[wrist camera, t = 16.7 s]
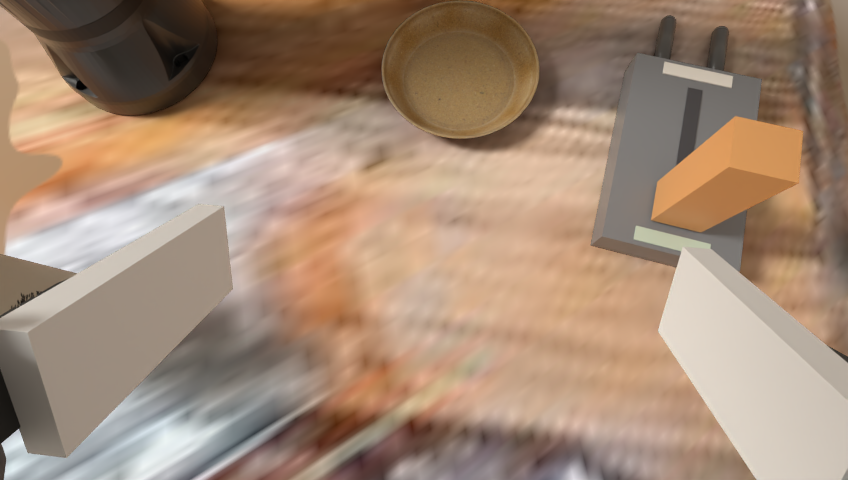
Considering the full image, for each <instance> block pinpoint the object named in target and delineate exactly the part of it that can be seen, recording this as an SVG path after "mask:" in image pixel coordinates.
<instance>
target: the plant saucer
mask: <svg viewBox="0 0 848 480" xmlns="http://www.w3.org/2000/svg"><path fill="white" fill-rule="evenodd" d="M382 81H383V85H384V88H385V91H386V94H387V96H388V98H389V100H390V102H391V103H392V105H393V106H394V107H395V109H396V110H397V111H398V112H399V113H400V114H401V115H402V116H403V117H404V118H405V119H406V120H407V121H409V122H410V123H411V124H413V125H414V126H416V127H417V128H419V129H421V130H424V131H426V132H428V133H431V134H434V135H437V136H441V137H446V138H457V139H466V138H476V137H481V136H485V135H488V134H491V133H493V132H496V131H498V130H500V129H502V128H504V127H506V126H507V125H509V124H510V123H512V122H513V121H514V120H515V119H517V118H518V117H519V116H520V115H521V114H522V113H523V111H524V110H525V109H526V107H527V106H528V105H529V103H530V102H531V100H532V98H533V96H534V94H535V91H536V88H537V86H538V81H539V60H538V55H537V52H536V48H535V46H534V44H533V42H532V40H531V39H530V37H529V35H528V34H527V32H526V31H525V30H524V29H523V27H522V26H521V25H520V24H519V23H518V22H517V21H516V20H514V19H513V18H512V17H511V16H509V15H507V14H506V13H504V12H502V11H501V10H499V9H497V8H494V7H492V6H489V5H486V4H483V3H479V2H473V1H448V2H442V3H437V4H434V5H431V6H428V7H426V8H423V9H421V10H420V11H418V12H416V13H414V14H413V15H411V16H410V17H409V18H407V19H406V20H405V21H404V22H403V23H402V24H401V25H400V26H399V27H398V28H397V29H396V30H395V32H394V33H393V34H392V36H391V37H390V39H389V41H388V43H387V45H386V48H385V51H384V54H383V59H382Z"/></svg>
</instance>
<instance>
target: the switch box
mask: <svg viewBox="0 0 848 480" xmlns="http://www.w3.org/2000/svg"><path fill="white" fill-rule="evenodd" d="M675 27H676V19H675V17H674V16H671V15H668V16H666V17H664V18H663V19H662V20H661V23H660V28H659V34H658V39H657V45H656V50H655V56H650V55H646V54H641V53H637V54H636V55H635V57H634V59H633V60H632V62H631V63H630V65H629V66H628V68H627V70H626V71H625V73H624V78H623V83H622V89H621V94H620V99H619V104H618V109H617V114H616V119H615V124H614V129H613V134H612V139H611V144H610V149H609V154H608V159H607V164H606V170H605V175H604V180H603V185H602V190H601V195H600V200H599V205H598V210H597V215H596V220H595V225H594V230H593V235H592V240H591V246H595V247H599V248H603V249H607V250H611V251H615V252H619V253H623V254H626V255H630V256H634V257H638V258H642V259H646V260H650V261H654V262H658V263H662V264H666V265H670V266H673V267H677V265H678V261H679V258H680V255H681V251H682V248H683V247H693V248H704V249H712V250H713V251H714V252H715V253H717V254H718V255H719V256H720V257H721V258H723V259H724V260H725V261H726V262H727V263H729V264H730V265H731V266H732V267H733V268H735V269H736V270H737V271H738V272H739V271H740V266H741V257H742V248H743V240H744V231H745V222H746V213H747V209H746V210H744V211H742V212H740V213H738V214H737V215H735V216H733V217H731V218H729V219H727V220H725V221H723V222H721V223H719V224H717V225H715V226H713V227H711V228H709V229H707V230H705V231H703V232H701V233H700V232H696V231H692V230H688V229H684V228H680V227H676V226H672V225H668V224H664V223H660V222H656V221H652V220H651V217H652V211H653V205H654V199H655V193H656V187H657V182H658V181H659V180H660V179H661V178H662V177H663V176H665V175H666V174H667V173H668V172H669V171H671V170H672V169H673V168H674V167H675V166H677V165H678V164H679V163H680V162H681V161H683V160H684V159H685V158H686V157H687V156H688V155H690V154H691V153H692V152H693V151H694V150H696V149H697V148H698V147H699V146H700V145H702V144H703V143H704V142H705V141H706V140H708V139H709V138H710V137H711V136H712V135H714V134H715V133H716V132H717V131H718V130H719V129H721V128H722V127H723V126H724V125H725V124H727V123H728V122H729V121H730V120H731V119H733V118H734V117H735V116H738V117H742V118H747V119H751V120H756V121H757V117H758V108H759V100H760V91H761V82H762V79H759V78H754V77H749V76H745V75H740V74H735V73H730V72H726V71H724V64H725V57H726V50H727V42H728V35H729V30H728V28H727V27H725V26H719V27H717V28H716V29H715V30H714V31H713V33H712V37H711V44H710V51H709V58H708V64H707V67H702V66H697V65H693V64H688V63H683V62H679V61H674V60H670V56H671V50H672V44H673V39H674V33H675Z"/></svg>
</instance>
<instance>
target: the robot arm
mask: <svg viewBox="0 0 848 480" xmlns="http://www.w3.org/2000/svg"><path fill="white" fill-rule="evenodd" d="M0 6H1V7H2V8H4V9H5V10H6V11H7V12H8V13H10V14H11V15H12V16H13V17H15V18H16V19H17V20H19V21H20V22H21V23H22V24H23V25H25V26H26V27H27V28H28V29H29V30H31V31H32V32H33V33H34V34H35V35H36V37H37V39H38V40H39V42H40V43H41V45H42V46H43V48H44V49H45V51H46V53H47V54H48V56H49V57H50V59H51V60H52V62H53V63H54V65H55V67H56V68H57V70H58V71H59V73H60V74H61V76H62V78H63V79H64V80H65V81H66V83H67V84H68V85H69V86H70V87H71V88H72V89H73V90H74V91H76V92H77V93H78V94H80V95H81V96H82V97H84V98H85V99H86V100H87V101H89V102H90V103H92V104H93V105H95V106H96V107H98V108H100V109H102V110H105V111H107V112H111V113H115V114H121V115H141V114H147V113H152V112H156V111H159V110H162V109H164V108H167V107H169V106H171V105H173V104H175V103H177V102H178V101H180V100H181V99H183V98H184V97H186V96H187V95H188V94H189V93H191V92H192V91H193V90H194V89H195V88H196V87H197V86H198V85H199V84H200V83H201V81H202V80H203V79H204V77H205V76H206V75H207V73H208V71H209V70H210V68H211V66H212V63H213V61H214V58H215V54H216V50H217V30H216V26H215V23H214V20H213V18H212V16H211V14H210V13H209V11H208V10H207V8H206V7H205V5H204V4H203V2H202V1H201V0H0ZM232 289H233V285H232V276H231V267H230V258H229V248H228V239H227V230H226V221H225V212H224V206H215V205H204V204H198V205H196V206H194V207H193V208H191V209H189V210H188V211H186V212H184V213H182V214H181V215H179V216H177V217H175V218H174V219H172V220H170V221H168V222H167V223H165V224H163V225H161V226H160V227H158V228H156V229H154V230H153V231H151V232H149V233H147V234H146V235H144V236H142V237H141V238H139V239H137V240H135V241H134V242H132V243H130V244H128V245H127V246H125V247H123V248H121V249H120V250H118V251H116V252H114V253H113V254H111V255H109V256H107V257H106V258H104V259H102V260H100V261H99V262H97V263H95V264H94V265H92V266H90V267H88V268H87V269H85V270H83V271H81V272H80V273H78V274H76V275H74V276H73V277H71V278H69V279H66V280H64V281H61V282H58V283H56V284H54V285H53V286H51V287H49V288H47V289H46V290H44V291H42V292H40V293H39V294H37V297H32V298H30V299H28V300H26V301H24V302H23V303H21V304H20V306H19V307H14V308H12V309H10V310H9V311H7V312H5V313H3V314H2V315H0V480H4V473H5V465H6V457H5V453H4V450H3V447H2V445H1V443H2V442H3V441H4V440H6V439H7V438H8V437H9V436H10V435H12V434H13V433H14V432H15V431H16V430H18V429H19V430H20V432H21V435H22V438H23V441H24V444H25V447H26V449H27V452H28V453H32V454H40V455H48V456H56V457H64V458H67V457H68V456H69V455H70V454H71V453H72V452H73V451H74V450H75V449H76V448H77V447H78V446H79V445H80V444H81V443H82V442H83V441H84V440H85V439H86V438H87V437H88V436H89V435H90V434H91V432H92V431H93V430H94V429H95V428H96V427H97V426H98V425H99V424H100V423H101V422H102V421H103V420H104V419H105V418H106V417H107V416H108V415H109V414H110V413H111V412H112V411H113V410H114V409H115V408H116V407H117V406H118V405H119V404H120V403H121V402H122V401H123V400H124V399H125V398H126V397H127V396H128V395H129V394H130V393H131V392H132V391H133V390H134V389H135V388H136V387H137V386H138V385H139V384H140V383H141V382H142V381H143V380H144V379H145V378H146V377H147V376H148V375H149V374H150V373H151V372H152V371H153V370H154V369H155V368H156V367H157V366H158V365H159V363H160V362H161V361H162V360H163V359H164V358H165V357H166V356H167V355H168V354H169V353H170V352H171V351H172V350H173V349H174V348H175V347H176V346H177V345H178V344H179V343H180V342H181V341H182V340H183V339H184V338H185V337H186V336H187V335H188V334H189V333H190V332H191V331H192V330H193V329H194V328H195V327H196V326H197V325H198V324H199V323H200V322H201V321H202V320H203V319H204V318H205V317H206V316H207V315H208V314H209V313H210V312H211V311H212V310H213V309H214V308H215V307H216V306H217V305H218V304H219V303H220V302H221V301H222V300H223V299H224V298H225V297H226V296H227V294H228V293H229V292H230V291H231V290H232ZM658 332H659V333H660V335H661V336H662V338H663V339H664V341H665V343H666V344H667V346H668V347H669V349H670V350H671V352H672V353H673V355H674V356H675V358H676V359H677V361H678V362H679V364H680V365H681V367H682V368H683V370H684V371H685V373H686V374H687V376H688V377H689V379H690V380H691V382H692V383H693V385H694V386H695V388H696V389H697V391H698V392H699V394H700V395H701V397H702V398H703V400H704V401H705V403H706V404H707V406H708V407H709V409H710V410H711V412H712V413H713V415H714V416H715V418H716V419H717V421H718V422H719V424H720V426H721V427H722V429H723V430H724V432H725V433H726V435H727V436H728V438H729V439H730V441H731V442H732V444H733V445H734V447H735V448H736V450H737V451H738V453H739V454H740V456H741V457H742V459H743V460H744V462H745V463H746V465H747V466H748V468H749V469H750V471H751V472H752V474H753V475H754V477H755V478H756V480H848V357H847V356H845V355H843V354H842V353H840V352H838V351H836V350H835V349H833V348H831V347H829V346H827V345H826V344H824V343H823V342H822V341H821V340H820V339H818V338H817V337H816V336H815V335H814V334H813V333H811V332H810V331H809V330H808V329H807V328H805V327H804V326H803V325H802V324H801V323H799V322H798V321H797V320H796V319H795V318H793V317H792V316H791V315H790V314H789V313H787V312H786V311H785V310H784V309H783V308H781V307H780V306H779V305H778V304H777V303H775V302H774V301H773V300H772V299H771V298H769V297H768V296H767V295H766V294H765V293H763V292H762V291H761V290H760V289H759V288H757V287H756V286H755V285H754V284H753V283H751V282H750V281H749V280H748V279H747V278H745V277H744V276H743V275H742V274H741V273H739V272H738V271H737V270H736V269H735V268H733V267H732V266H731V265H730V264H729V263H727V262H726V261H725V260H724V259H723V258H721V257H720V256H719V255H718V254H717V253H715V252H714V251H713V250H712V249H704V248H693V247H683V248H682V251H681V255H680V258H679V261H678V265H677V268H676V271H675V275H674V278H673V282H672V285H671V288H670V292H669V295H668V299H667V302H666V305H665V309H664V312H663V315H662V319H661V322H660V326H659V329H658Z"/></svg>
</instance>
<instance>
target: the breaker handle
mask: <svg viewBox="0 0 848 480" xmlns="http://www.w3.org/2000/svg"><path fill="white" fill-rule="evenodd" d="M802 139H803V131H801V130H796V129H792V128H787V127H783V126H778V125H774V124H769V123H765V122H760V121H756V120H751V119H747V118H742V117H738V116H735V117H734V118H733V119H731V120H730V121H729V122H728V123H727V124H725V125H724V126H723V127H722V128H721V129H719V130H718V131H717V132H716V133H715V134H714V135H712V136H711V137H710V138H709V139H708V140H706V141H705V142H704V143H703V144H702V145H700V146H699V147H698V148H697V149H696V150H694V151H693V152H692V153H691V154H690V155H688V156H687V157H686V158H685V159H684V160H683V161H681V162H680V163H679V164H678V165H677V166H675V167H674V168H673V169H672V170H671V171H669V172H668V173H667V174H666V175H665V176H663V177H662V178H661V179H660V180H659V181H658V182H657V187H656V193H655V199H654V205H653V211H652V217H651V220H652V221H656V222H660V223H664V224H668V225H672V226H676V227H680V228H684V229H688V230H692V231H696V232H700V233H701V232H703V231H705V230H707V229H709V228H711V227H713V226H715V225H717V224H719V223H721V222H723V221H725V220H727V219H729V218H731V217H733V216H735V215H737V214H738V213H740V212H742V211H744V210H746V209H748V208H750V207H752V206H754V205H756V204H758V203H760V202H762V201H764V200H766V199H768V198H770V197H772V196H774V195H776V194H778V193H780V192H782V191H784V190H786V189H788V188H790V187H792V186H794V185H796V184H798V183H799V173H800V162H801V150H802Z"/></svg>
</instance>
